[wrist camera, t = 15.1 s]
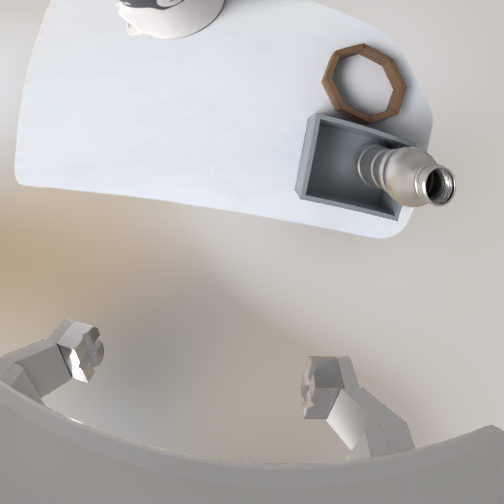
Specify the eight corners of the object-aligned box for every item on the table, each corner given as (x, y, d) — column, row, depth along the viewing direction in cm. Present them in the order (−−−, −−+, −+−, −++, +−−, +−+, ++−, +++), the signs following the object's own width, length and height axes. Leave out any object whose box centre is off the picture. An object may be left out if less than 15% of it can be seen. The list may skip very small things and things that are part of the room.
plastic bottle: (386, 186, 39) (463, 223, 20) (346, 184, 39) (405, 221, 21) (388, 145, 36) (470, 155, 18) (346, 141, 37) (411, 144, 18)
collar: (310, 62, 33) (314, 57, 30) (375, 44, 31) (382, 39, 28) (344, 131, 37) (350, 130, 34) (406, 109, 34) (415, 108, 32)
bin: (294, 189, 41) (300, 198, 34) (308, 118, 37) (316, 113, 30) (379, 208, 41) (397, 221, 34) (394, 142, 37) (415, 143, 30)
